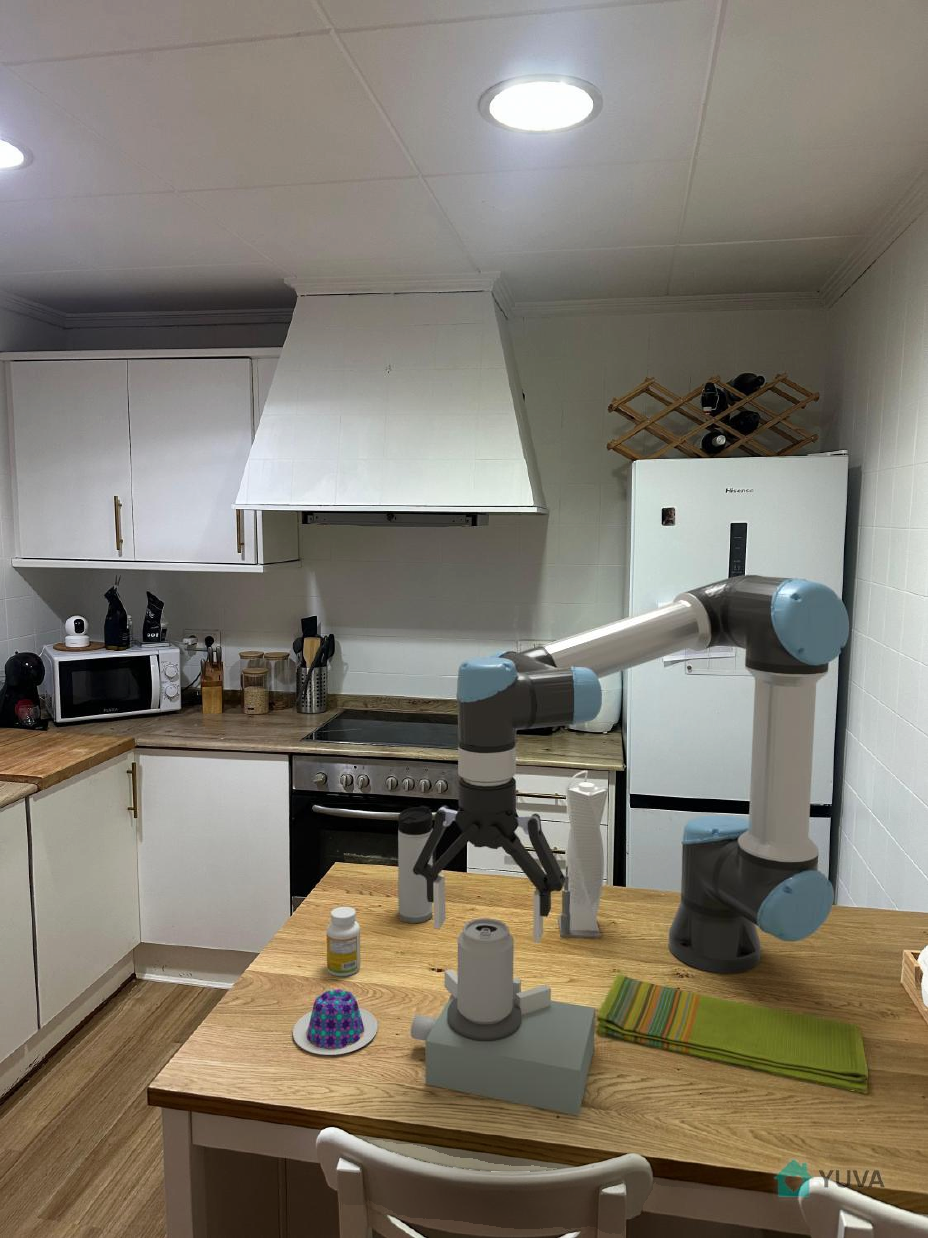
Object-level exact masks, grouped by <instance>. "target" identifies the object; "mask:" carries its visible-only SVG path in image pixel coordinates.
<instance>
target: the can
mask: <svg viewBox="0 0 928 1238" xmlns="http://www.w3.org/2000/svg"><path fill="white" fill-rule="evenodd" d="M514 942H515V941H514V936H513V935H512V934H511V933H510V929H509V926H508V925H507V924H506V923H505V922H503V921H502V920H500V919H499V920H498V919H495V918H490V917H489V918H488V917H479V918H474V919H472V920H468V921H467V922H466V923H464V925H463V927H462V932H461V933H459V935H458V937H457V974H458V977H457V1006H458V1010H459V1011H460V1013H461V1014H462V1015H464V1016H465V1017H466V1018H467V1019H468V1020H469V1021H471V1022H474V1023H477V1024H483V1025H486V1024H494V1023H497V1022H500V1021H502V1020H503V1019H504V1018H505V1017H507V1016H508V1015H509V1014H510V1013H511V1011H512V1008H513V978H514V954H515V953H514V947H515V945H514Z"/></svg>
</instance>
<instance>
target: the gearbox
mask: <svg viewBox="0 0 928 1238" xmlns="http://www.w3.org/2000/svg"><path fill="white" fill-rule="evenodd" d="M457 977H458V972H456V971H454V970H453V969H452V968H451V969H447V970H444V989H445V990H446V991H448V993H449V994H450V996H449V998H448V999H447V1001H446V1004H445V1005H444V1007H443V1009H442V1010H441V1012H440V1013H439V1016H438V1017H437V1018H436V1017H433V1016H432V1017H431V1016H425V1015H420V1014H415V1015H414V1017H413V1019H412V1021H411V1022H412V1023H411V1025H410V1026H411V1027H410V1036H411V1039H414V1040H419V1041H423V1042H425V1044H424V1045H425V1048H424V1049H425V1055H424V1056H425V1057H424V1058H425V1059H424V1060H425V1065H424V1067H425V1072H424V1073H425V1075H424V1076H425V1077H424V1079H425V1080H424V1081H425V1082H424V1083H425V1085H427V1086H432V1087H438V1088H442V1089H447V1090H452V1091H455V1092H462V1093H466V1094H472V1095H477V1096H480V1097H485V1098H491V1099H496V1100H499V1101H506V1102H511V1103H515V1104H519V1105H525V1106H530V1107H534V1108H538V1109H544V1110H550V1111H553V1112H554V1111H555V1112H559V1113H564V1114H567V1115H573V1116H577V1117H579V1116H580V1111H581V1107H582V1101H583V1098H584V1095H585V1094H584V1093H585V1090H586V1085H587V1082H588V1081H587V1080H588V1076H589V1071H590V1068H591V1063H592V1059H593V1054H594V1049H595V1028H596V1027H595V1026H596V1025H595V1023H596V1008H595V1007H592V1006H587V1005H586V1006H585V1005H581V1004H576V1003H575V1004H574V1003H569V1002H562V1001H556V1000H552V997H551V996H552V995H551V994H552V988H551V987H549V986H548V985H547V984H543V985H539V986H537V987H536V986H535V987H533V988H529V989H526V990H524V991H521V990H522V978H517V977H516V978H515V977H513V1008H512V1011H511V1013H510V1014H509V1015H508V1016H507V1017H505V1018H504V1019H503V1020H502V1021H500V1022H497V1023H494V1024H486V1025H483V1024H477V1023H474V1022H471V1021H469V1020H468V1019H467V1018H466V1017H465V1016H464V1015H462V1014H461V1013H460V1011H459V1010H458V1006H457Z"/></svg>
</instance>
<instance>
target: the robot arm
mask: <svg viewBox="0 0 928 1238" xmlns="http://www.w3.org/2000/svg"><path fill="white" fill-rule="evenodd" d="M849 631H850V620H849V615H848V611H847V609H846V606H845V604H844V602H843V600H842V599H841V598H840V597H839V596H838V595H837V594H836V592H835V590H834V589H832V588H831V587H830V586H827V585H826V584H823V583H820V582H815V581H811V580H810V581H809V580H807V579H805V578H797V577H796V578H795V577H794V578H793V577H792V578H791V577H790V578H789V577H780V576H779V577H776V576H763V575H757V574H743V575H738V576H733V577H728V578H725V579H722V580H719V581H715V582H712V583H709V584H706V585H702V586H700V587H697V588H694V589H693V588H692V589H691V590H688V591H685V592H682V593H679V594H677V595H676V596H675V598H674V599H673V601H672V603H668V604H665V605H662V606H659V607H656V608H652V609H649V610H647V611H644V612H641V613H637V614H635V615H631V616H628V617H626V618H622V619H620V620H616V621H613V622H610V623H606V624H604V625H601V626H597V627H595V628H591V629H588V630H586V631H582V632H580V633H576V634H573V635H570V636H568V637H564V638H561V639H558V640H555V641H552V642H549V643H545V644H542V645H540V646H536V647H532V648H529V649H525V650H522V651H520V652H517V651H515V650H501V651H497V652H495V653H493V654H492V655H491V656H489V657H474V658H470V659H466V660H465V661H463V662H462V663H461V664H460V666H459V667H458V670H457V671H458V674H457V683H456V685H457V686H456V694H455V695H456V703H457V705H456V706H457V730H458V732H457V733H458V734H457V735H458V736H457V737H458V738H457V739H458V741H457V742H458V743H457V746H458V747H457V749H458V750H457V753H458V754H457V761H458V762H457V764H458V765H457V766H458V767H457V774H458V775H459V776H460V778H459V779H458V810H455V809H454V810H453V809H450V808H449V806H448V805H441V807H440V808H438V810H437V811H436V813H435V814H434V824H433V827H432V829H433V830H432V832H431V834H430V836H429V838H428V840H427V842H426V844H425V846H424V848H423V850H422V852H421V854H420V856H419V858H418V860H417V862H416V864H415V866H414V868H413V873H414V874H415V875H419V874H420V875H422V876H424V877H425V878H426V880H427V900H428V902H432V904H433V926H434V927H433V929H435V930H440V929H441V928H442V926H443V925H444V923H445V922H446V875H445V874H442V873H441V872H442V871H443V870H444V869H445V867H447V866H448V864H449V863H450V862H451V861H452V860H453V859H454V858H455V857H456V855H458V853H459V852H460V851H461V850H462V849H463V848H464V847H466V845H467V844H468V842H469V843H470V844H471V845H473V847H474V848H484V847H485V848H486V847H487V848H488V849H491V850H492V849H493V850H498V849H499V848H502V849H503V850H504V852H505V853H506V854H507V855H509V856H511V858H512V859H513V861H515V863H516V865H517V866H518V867H519V868H520V869H521V870H522V872H523V873H524V874H525V875H526V877H527V878H528V879H529V881H530V882H531V883H532V885H533V886H534V887H535V890H534V892H533V894H532V895H533V896H532V897H533V900H532V903H533V907H532V908H533V912H532V913H533V915H532V916H533V920H532V921H533V926H532V927H533V939H532V941H533V943H535V944H536V943H537V944H538V943H540V941H541V939H542V937H543V935H544V917H546V918H548V916H549V915H550V912H551V908H552V892H562V889H563V888H564V882H565V877H564V875H565V874H564V873H563V871H562V869H561V867H560V865H559V863H558V860H557V859H556V857H555V855H554V853H553V851H552V848H551V847H550V844H549V843H548V840H547V838H546V836H545V834H544V831H543V829H542V821H541V820H542V819H541V816H540V815H539V814H538V813H533V814H531V816H519V815H518V812H517V781H516V779H515V778H514V777H515V775H516V774H517V771H516V770H517V750H516V749H517V731H518V730H530V729H537V728H538V729H540V728H548V727H549V728H550V727H559V726H560V727H561V726H575V725H578V724H582V723H587V722H592V721H593V720H595V719H596V718H597V717H598V715H599V714H600V711H601V709H602V705H603V701H602V700H603V697H602V696H603V692H602V685H601V683H600V680H599V679H602V678H605V677H607V676H610V675H613V674H617V673H619V672H622V671H625V670H628V669H631V668H635V667H637V666H640V665H642V664H645V663H648V662H651V661H654V660H658V659H660V658H663V657H666V656H669V655H671V654H675V653H678V652H682V651H684V650H686V649H687V650H688V649H690V650H693V651H695V652H700V651H704V650H707V649H710V648H713V647H732V648H733V647H735V648H741V649H744V650H745V658H744V662H745V663H744V669H746V670H747V671H748V672H749V673H750V674H751V676H752V677H753V678H754V692H753V693H754V697H753V699H754V700H753V721H752V739H751V740H752V742H751V743H752V744H751V765H750V786H749V787H750V788H749V790H750V792H749V811H748V819H746V818H742V817H738V816H730V815H729V816H728V815H705V816H699V817H695V818H693V819H689V821H688V822H686V824H685V825H684V827H683V835H682V841H681V844H682V846H681V847H682V849H681V850H682V851H681V880H680V881H681V882H680V883H681V884H680V902H679V905H678V908H677V910H676V912H675V915H674V918H673V920H672V922H671V925H670V927H669V930H668V931H669V932H668V948H669V951H670V952H671V953H672V955H673V956H674V957H676V958H677V959H678V960H680V961H681V962H683V963H685V964H686V965H689V966H690V967H693V968H696V969H699V970H703V971H707V972H712V973H721V974H737V973H743V972H747V971H749V969H750V970H752V969H753V968H755V967H756V966H758V965H759V963H760V961H761V953H762V951H761V950H762V946H761V940H760V937H759V933H758V929H757V927H758V928H759V929H760V930H761V931H762V932H763V933H765V934H769V935H771V936H773V937H775V938H776V939H778V940H780V941H783V942H799V941H802V940H804V939H807V938H808V937H810V936H812V935H813V934H814V933H816V932H818V930H819V928H820V927H821V926H822V925H824V923H825V922H826V921H827V919H828V917H829V915H830V913H831V911H832V908H833V905H834V899H835V892H834V887H833V884H832V882H831V881H830V880H829V878H828V877H827V876H826V874H824V873H823V872H821V871H820V870H819V869H818V867H819V847H818V845H817V844H815V843H814V841H813V840H812V839H811V838H810V837H809V834H810V833H809V832H810V814H811V813H810V812H811V811H810V810H811V793H812V791H811V790H812V776H813V775H812V774H813V773H812V772H813V756H814V755H813V754H814V737H815V736H814V735H815V717H816V715H815V713H816V697H817V683H818V682H819V681H820V680H822V678H824V677H825V676H826V675H827V674H829V664H830V662H832V661H834V660H835V659H837V657H838V656H840V654H841V653H842V651H841V649H843V648H844V647H845V646H846V644H847V641H848V638H849V635H850V634H849ZM453 821H454V822H455V823H456V825H457V826H458V827H459V829H460V830H461V832H462V833H461V834H460V835H459V836H458V838H457V839H455V841H454V842H453V843H452V844H451V845H450V846H449V847H448V848H447V850H446V851H445V852H444V853H443V854H442V855H441V856H440V857H439V858H438V859H437V860H436V862H435V863H433V864H432V865H430V864H428V862H429V860H430V858H431V856H432V857H433V855H434V852H435V851H436V849H437V846H438V844H439V843H440V840H441V838H442V836H443V834H444V833H445V830H446V829H447V827H449V826H450V825H451V824H452V823H453ZM518 828H521V829H522V830H523V833H524V834H525V835H528V838H529V842H530V843H531V845H532V848H533V849H534V852H535V854H536V857H537V858H538V860H539V862H540V864H541V866H542V867H541V866H540V865H539V863H538V862H537V861H536V860H535V859H534V857H533V856H532V854H530V852H529V850H528V849H527V848H526V846H524V844H522V842H521V839H520V837H519V836H518V834H517V833H516V831H517V829H518ZM542 868H543V869H542Z"/></svg>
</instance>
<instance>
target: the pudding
mask: <svg viewBox="0 0 928 1238" xmlns="http://www.w3.org/2000/svg"><path fill="white" fill-rule="evenodd" d="M377 1031H378V1021H377V1019H376V1018H375V1016H374V1015H373V1014H372V1013H371V1012H369V1011H368V1010H367V1009H364V1008H363V1007H359V1004H358V1000H357V998H356V997H355V996H354V994H353V993H352V992H351V991H348V990H343V989H340V988H339V989H338V988H337V989H336V988H335V989H334V990H333V989H332V990H325V991H324V992H322V994H320V995H318V996H317V997H316V998H315V1000H314V1002H313V1007H312V1010H311V1011H308V1012H307V1013H305V1014H304V1015H302V1016H301V1017H300V1018H299V1019H298V1020H297V1022H295V1025H294V1026H293V1030H292V1038H293V1040H294V1041H295V1043H296V1044H297V1045H298V1046H299V1047H300V1048H302V1049H303V1050H305V1051H307V1052H310V1053H314V1054H317V1055H325V1056H326V1055H327V1056H328V1055H329V1056H330V1055H331V1056H333V1055H335V1056H336V1055H342V1054H343V1055H344V1054H347V1053H351V1052H353V1051H356V1050H358V1049H360V1048H362V1047H364V1046H366V1045H367V1044H368V1043H369V1042H370V1041H372V1040H373V1038H374V1037H375V1036H376V1034H377ZM363 1033H364V1034H363ZM361 1034H363V1035H362V1037H361ZM312 1043H313V1044H312ZM314 1044H315V1045H314ZM349 1044H351V1045H350V1046H348V1045H349ZM329 1048H332V1049H329Z"/></svg>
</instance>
